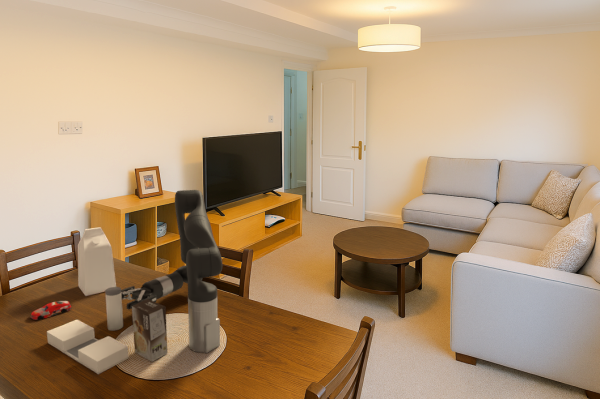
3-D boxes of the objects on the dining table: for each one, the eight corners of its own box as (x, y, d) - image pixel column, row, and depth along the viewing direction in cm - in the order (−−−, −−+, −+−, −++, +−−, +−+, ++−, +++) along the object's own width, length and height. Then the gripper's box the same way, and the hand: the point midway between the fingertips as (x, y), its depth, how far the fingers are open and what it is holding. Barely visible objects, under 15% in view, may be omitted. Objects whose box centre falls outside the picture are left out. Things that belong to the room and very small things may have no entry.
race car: (33, 323, 151) (31, 312, 151) (29, 317, 155) (27, 307, 154) (73, 311, 161) (72, 301, 160) (68, 306, 164) (67, 296, 163)
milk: (108, 279, 189) (104, 223, 184) (116, 288, 181) (112, 229, 175) (78, 286, 182) (73, 227, 176) (85, 295, 173) (80, 234, 167)
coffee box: (168, 353, 136) (167, 306, 132) (151, 362, 131) (149, 314, 127) (150, 343, 141) (148, 298, 137) (133, 352, 135) (130, 305, 132)
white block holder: (128, 358, 132) (127, 346, 131) (98, 374, 124) (97, 361, 123) (77, 330, 147) (76, 319, 146) (47, 343, 139) (46, 331, 138)
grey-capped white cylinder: (126, 326, 151) (124, 289, 148) (113, 332, 147) (110, 294, 144) (117, 321, 154) (115, 285, 151) (104, 327, 149) (102, 290, 146)
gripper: (145, 274, 167) (107, 288, 153) (169, 283, 159) (131, 299, 146) (146, 292, 168) (108, 307, 155) (170, 302, 161) (132, 319, 147)
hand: (119, 303), depth 150 cm, fingers open, 8 cm apart
